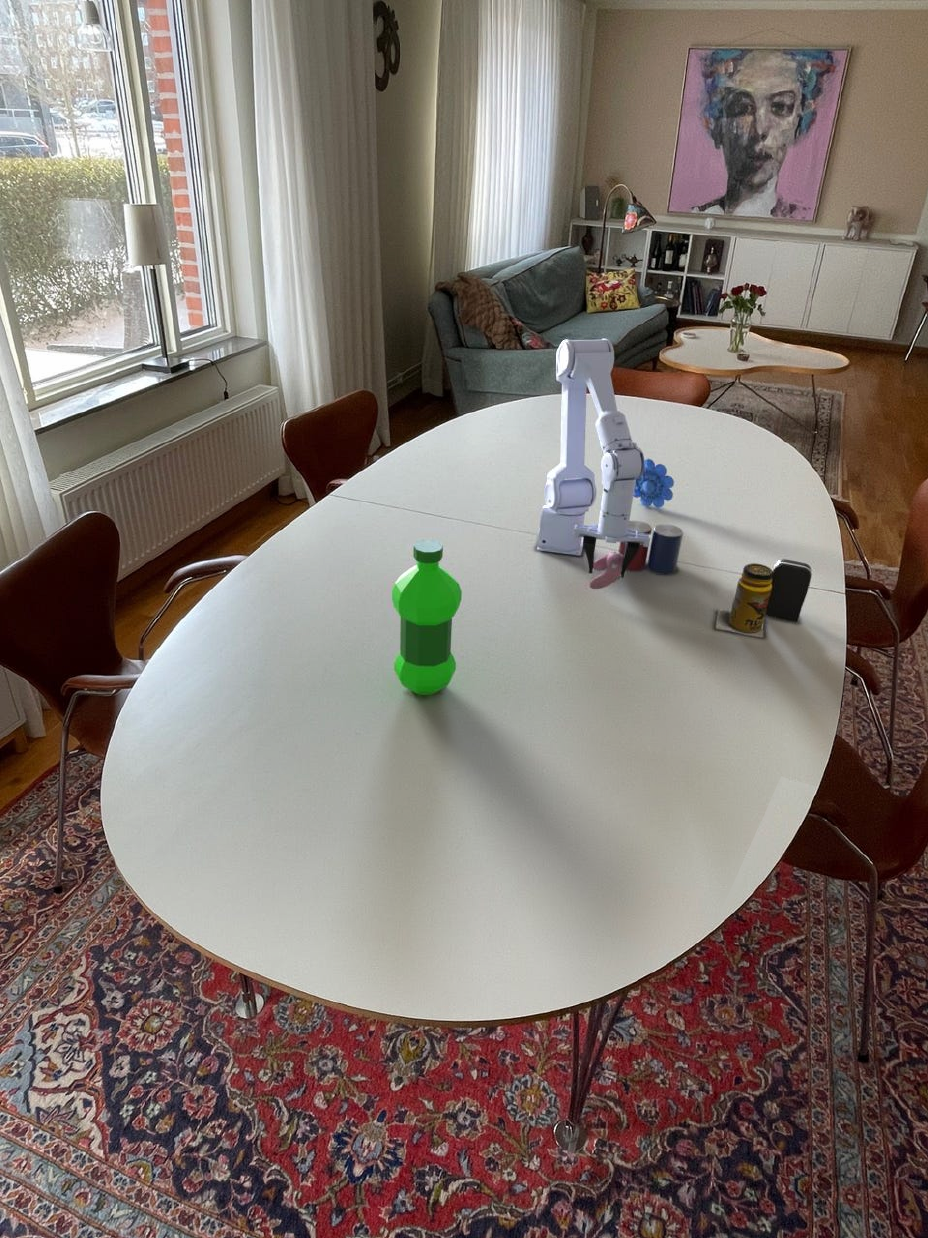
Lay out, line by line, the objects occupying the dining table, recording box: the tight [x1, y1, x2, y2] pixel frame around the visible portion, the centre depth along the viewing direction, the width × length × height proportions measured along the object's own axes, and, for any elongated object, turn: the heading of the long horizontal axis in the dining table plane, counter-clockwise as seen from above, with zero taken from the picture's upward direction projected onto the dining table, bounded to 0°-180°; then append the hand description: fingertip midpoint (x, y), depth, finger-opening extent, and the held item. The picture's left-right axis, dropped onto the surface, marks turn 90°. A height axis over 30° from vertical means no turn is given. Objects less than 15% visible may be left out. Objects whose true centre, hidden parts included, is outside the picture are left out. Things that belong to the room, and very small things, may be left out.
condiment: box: [715, 562, 773, 638], centre depth 154 cm, size 7×8×12 cm
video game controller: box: [589, 549, 624, 590], centre depth 165 cm, size 10×5×7 cm, turn 168°
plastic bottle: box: [391, 539, 463, 696], centre depth 129 cm, size 10×10×25 cm
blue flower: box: [633, 458, 675, 509], centre depth 202 cm, size 12×7×12 cm, turn 68°
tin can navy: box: [646, 524, 684, 575], centre depth 174 cm, size 6×6×9 cm
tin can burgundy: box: [618, 520, 652, 571], centre depth 175 cm, size 6×6×9 cm
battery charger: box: [765, 558, 813, 623], centre depth 158 cm, size 7×4×11 cm, turn 68°
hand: (606, 573), depth 166 cm, fingers closed on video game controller, 5 cm apart
